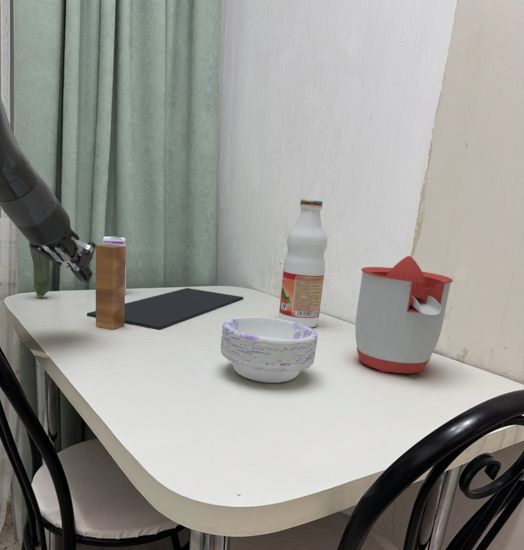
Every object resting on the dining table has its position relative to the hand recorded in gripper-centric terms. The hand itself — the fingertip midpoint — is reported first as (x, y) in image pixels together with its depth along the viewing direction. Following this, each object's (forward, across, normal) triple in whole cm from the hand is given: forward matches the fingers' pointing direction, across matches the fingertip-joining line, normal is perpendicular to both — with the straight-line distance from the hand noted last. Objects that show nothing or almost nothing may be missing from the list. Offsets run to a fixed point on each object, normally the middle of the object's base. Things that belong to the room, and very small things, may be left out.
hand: (86, 278), depth 92 cm
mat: (+31, 0, -16) cm, 34 cm away
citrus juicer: (+19, -55, -4) cm, 58 cm away
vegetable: (+20, +28, -5) cm, 35 cm away
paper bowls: (+6, -37, +9) cm, 38 cm away
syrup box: (+33, +20, -18) cm, 42 cm away
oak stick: (+12, 0, +2) cm, 13 cm away
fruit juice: (+34, -31, -18) cm, 49 cm away
